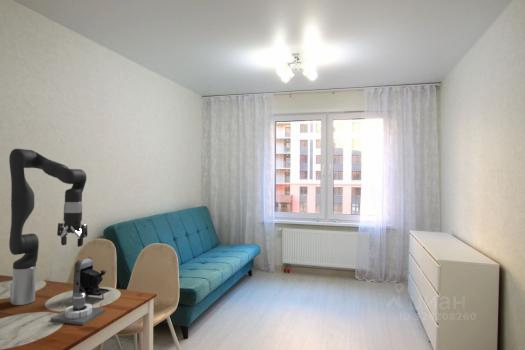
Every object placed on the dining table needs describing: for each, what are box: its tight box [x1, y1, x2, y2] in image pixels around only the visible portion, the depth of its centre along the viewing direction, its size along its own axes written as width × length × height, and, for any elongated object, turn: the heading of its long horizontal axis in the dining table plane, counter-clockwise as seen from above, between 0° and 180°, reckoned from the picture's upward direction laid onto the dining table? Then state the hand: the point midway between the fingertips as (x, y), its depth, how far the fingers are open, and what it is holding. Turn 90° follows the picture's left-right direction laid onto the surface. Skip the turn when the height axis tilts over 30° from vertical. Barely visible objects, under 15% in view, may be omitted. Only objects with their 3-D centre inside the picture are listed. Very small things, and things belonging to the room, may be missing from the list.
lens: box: [72, 292, 87, 311], centre depth 146 cm, size 5×5×9 cm
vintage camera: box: [72, 256, 111, 300], centre depth 167 cm, size 10×16×20 cm, turn 78°
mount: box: [50, 303, 106, 326], centre depth 146 cm, size 16×14×4 cm
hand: (71, 245), depth 152 cm, fingers open, 8 cm apart
